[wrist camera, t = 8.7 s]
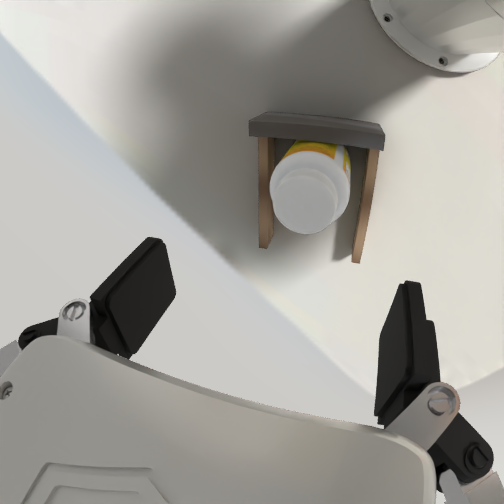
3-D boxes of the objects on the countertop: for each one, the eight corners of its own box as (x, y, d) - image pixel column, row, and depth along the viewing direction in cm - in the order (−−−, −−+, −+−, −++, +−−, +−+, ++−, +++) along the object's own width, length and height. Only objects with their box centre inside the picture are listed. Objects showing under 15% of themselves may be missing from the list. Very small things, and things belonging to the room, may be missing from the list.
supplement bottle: (277, 153, 27) (241, 197, 19) (324, 117, 24) (309, 143, 16) (316, 198, 29) (297, 259, 21) (362, 166, 25) (367, 218, 17)
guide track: (359, 249, 30) (359, 279, 26) (265, 234, 33) (251, 261, 29) (378, 123, 23) (385, 135, 19) (265, 112, 25) (248, 121, 21)
